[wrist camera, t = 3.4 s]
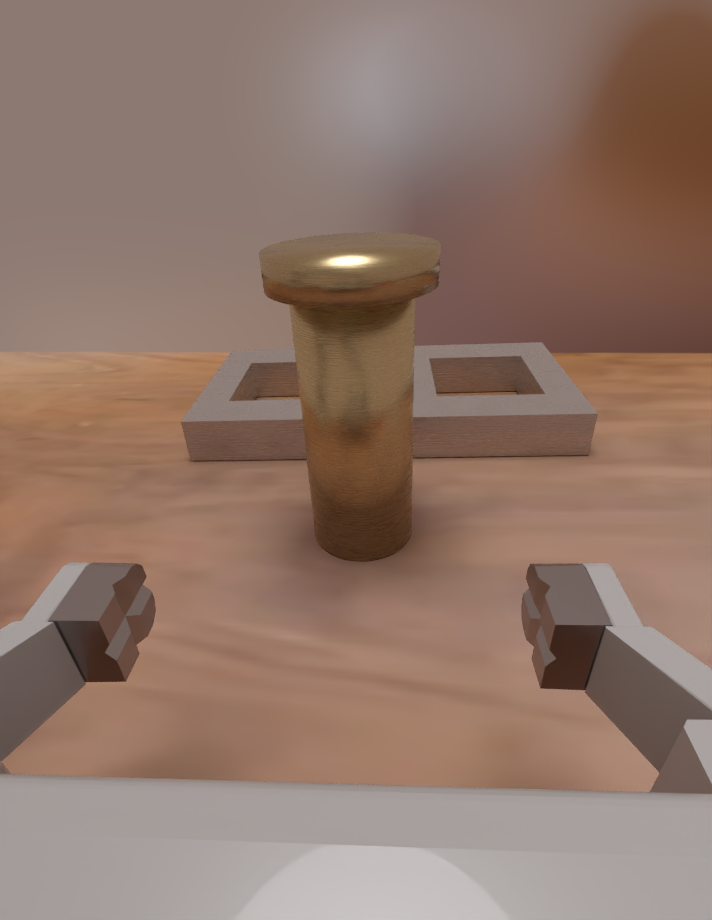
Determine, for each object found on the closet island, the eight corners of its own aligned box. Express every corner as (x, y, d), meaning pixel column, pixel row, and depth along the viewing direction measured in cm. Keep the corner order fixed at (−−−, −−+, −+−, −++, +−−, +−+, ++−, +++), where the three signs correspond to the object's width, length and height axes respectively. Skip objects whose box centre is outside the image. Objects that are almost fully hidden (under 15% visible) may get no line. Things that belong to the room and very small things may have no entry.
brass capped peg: (287, 574, 21) (239, 269, 15) (306, 490, 26) (276, 236, 20) (435, 574, 21) (450, 261, 14) (424, 489, 26) (432, 229, 19)
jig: (190, 460, 29) (180, 421, 28) (237, 383, 38) (231, 351, 37) (588, 455, 28) (598, 413, 26) (536, 375, 37) (541, 342, 36)
